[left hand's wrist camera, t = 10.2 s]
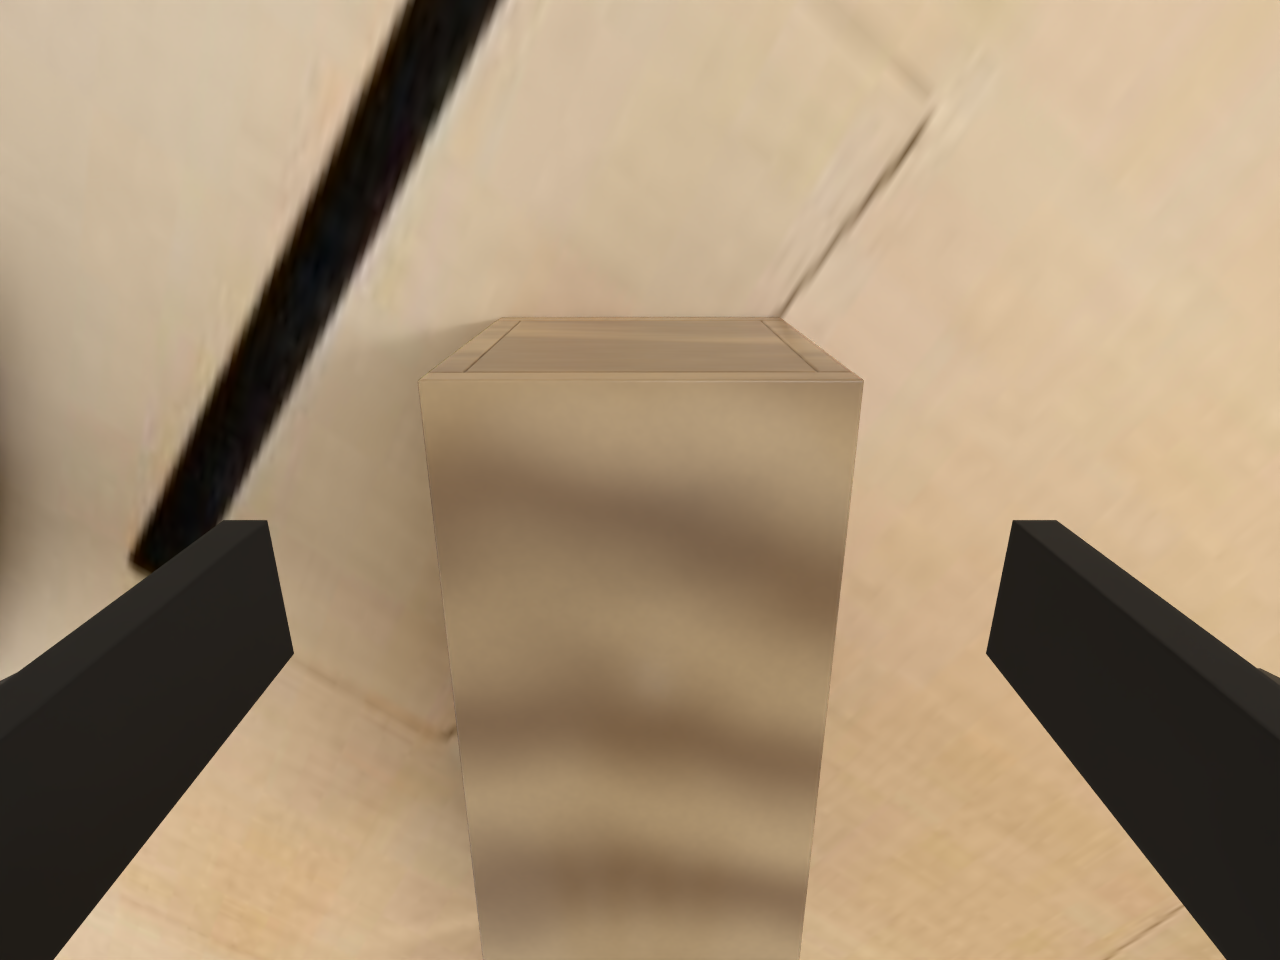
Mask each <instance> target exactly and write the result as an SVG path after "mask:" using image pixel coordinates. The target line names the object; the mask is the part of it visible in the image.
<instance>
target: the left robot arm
mask: <svg viewBox="0 0 1280 960" xmlns="http://www.w3.org/2000/svg"><path fill="white" fill-rule="evenodd" d="M293 654H294V651H293V646H292V641H291V636H290V631H289V627H288V622H287V617H286V612H285V607H284V602H283V597H282V592H281V587H280V582H279V577H278V572H277V567H276V562H275V557H274V552H273V547H272V542H271V537H270V532H269V527H268V522H267V520H223V521H222V522H221V523H219V524H218V525H217V526H215V527H214V528H213V529H211V530H210V531H208V532H207V533H206V534H204V535H203V536H202V537H200V538H199V539H198V540H196V541H195V542H194V543H192V544H191V545H190V546H188V547H187V548H185V549H184V550H183V551H181V552H180V553H179V554H177V555H176V556H175V557H173V558H172V559H171V560H169V561H168V562H166V563H165V564H164V565H162V566H161V567H160V568H158V569H157V570H156V571H154V572H153V573H152V574H150V575H149V576H148V577H146V578H145V579H143V580H142V581H141V582H139V583H138V584H137V585H135V586H134V587H133V588H131V589H130V590H129V591H127V592H126V593H125V594H123V595H122V596H120V597H119V598H118V599H116V600H115V601H114V602H112V603H111V604H110V605H108V606H107V607H106V608H104V609H103V610H101V611H100V612H99V613H97V614H96V615H95V616H93V617H92V618H91V619H89V620H88V621H87V622H85V623H84V624H83V625H81V626H80V627H78V628H77V629H76V630H74V631H73V632H72V633H70V634H69V635H68V636H66V637H65V638H64V639H62V640H61V641H59V642H58V643H57V644H55V645H54V646H53V647H51V648H50V649H49V650H47V651H46V652H45V653H43V654H42V655H41V656H39V657H38V658H36V659H35V660H34V661H32V662H31V663H30V664H28V665H27V666H26V667H24V668H23V669H22V670H20V671H19V672H17V673H15V674H13V675H11V676H9V677H7V678H5V679H3V680H1V681H0V960H54V958H55V957H56V956H57V955H58V953H59V952H60V951H61V949H62V948H63V947H64V946H65V944H66V943H67V942H68V941H69V939H70V938H71V937H72V935H73V934H74V933H75V932H76V930H77V929H78V928H79V927H80V925H81V924H82V923H83V921H84V920H85V919H86V918H87V916H88V915H89V914H90V913H91V911H92V910H93V909H94V907H95V906H96V905H97V904H98V902H99V901H100V900H101V899H102V897H103V896H104V895H105V893H106V892H107V891H108V890H109V888H110V887H111V886H112V885H113V883H114V882H115V881H116V879H117V878H118V877H119V876H120V874H121V873H122V872H123V871H124V869H125V868H126V867H127V865H128V864H129V863H130V862H131V860H132V859H133V858H134V857H135V855H136V854H137V853H138V851H139V850H140V849H141V848H142V846H143V845H144V844H145V843H146V841H147V840H148V839H149V837H150V836H151V835H152V834H153V832H154V831H155V830H156V828H157V827H158V826H159V825H160V823H161V822H162V821H163V820H164V818H165V817H166V816H167V814H168V813H169V812H170V811H171V809H172V808H173V807H174V806H175V804H176V803H177V802H178V800H179V799H180V798H181V797H182V795H183V794H184V793H185V792H186V790H187V789H188V788H189V786H190V785H191V784H192V783H193V781H194V780H195V779H196V778H197V776H198V775H199V774H200V772H201V771H202V770H203V769H204V767H205V766H206V765H207V764H208V762H209V761H210V760H211V758H212V757H213V756H214V755H215V753H216V752H217V751H218V750H219V748H220V747H221V746H222V744H223V743H224V742H225V741H226V739H227V738H228V737H229V736H230V734H231V733H232V732H233V730H234V729H235V728H236V727H237V725H238V724H239V723H240V722H241V720H242V719H243V718H244V716H245V715H246V714H247V713H248V711H249V710H250V709H251V708H252V706H253V705H254V704H255V702H256V701H257V700H258V699H259V697H260V696H261V695H262V694H263V692H264V691H265V690H266V688H267V687H268V686H269V685H270V683H271V682H272V681H273V680H274V678H275V677H276V676H277V674H278V673H279V672H280V671H281V669H282V668H283V667H284V666H285V664H286V663H287V662H288V660H289V659H290V658H291V657H292V655H293ZM986 654H987V655H988V657H989V658H990V659H991V660H992V662H993V663H994V664H995V666H996V667H997V668H998V669H999V671H1000V672H1001V673H1002V674H1003V676H1004V677H1005V678H1006V680H1007V681H1008V682H1009V683H1010V685H1011V686H1012V687H1013V688H1014V690H1015V691H1016V692H1017V694H1018V695H1019V696H1020V697H1021V699H1022V700H1023V701H1024V702H1025V704H1026V705H1027V706H1028V708H1029V709H1030V710H1031V711H1032V713H1033V714H1034V715H1035V716H1036V718H1037V719H1038V720H1039V722H1040V723H1041V724H1042V725H1043V727H1044V728H1045V729H1046V730H1047V732H1048V733H1049V734H1050V736H1051V737H1052V738H1053V739H1054V741H1055V742H1056V743H1057V744H1058V746H1059V747H1060V748H1061V750H1062V751H1063V752H1064V753H1065V755H1066V756H1067V757H1068V758H1069V760H1070V761H1071V762H1072V764H1073V765H1074V766H1075V767H1076V769H1077V770H1078V771H1079V772H1080V774H1081V775H1082V776H1083V778H1084V779H1085V780H1086V781H1087V783H1088V784H1089V785H1090V786H1091V788H1092V789H1093V790H1094V792H1095V793H1096V794H1097V795H1098V797H1099V798H1100V799H1101V800H1102V802H1103V803H1104V804H1105V806H1106V807H1107V808H1108V809H1109V811H1110V812H1111V813H1112V814H1113V816H1114V817H1115V818H1116V820H1117V821H1118V822H1119V823H1120V825H1121V826H1122V827H1123V829H1124V830H1125V831H1126V832H1127V834H1128V835H1129V836H1130V837H1131V839H1132V840H1133V841H1134V843H1135V844H1136V845H1137V846H1138V848H1139V849H1140V850H1141V851H1142V853H1143V854H1144V855H1145V857H1146V858H1147V859H1148V860H1149V862H1150V863H1151V864H1152V865H1153V867H1154V868H1155V869H1156V871H1157V872H1158V873H1159V874H1160V876H1161V877H1162V878H1163V879H1164V881H1165V882H1166V883H1167V885H1168V886H1169V887H1170V888H1171V890H1172V891H1173V892H1174V893H1175V895H1176V896H1177V897H1178V899H1179V900H1180V901H1181V902H1182V904H1183V905H1184V906H1185V907H1186V909H1187V910H1188V911H1189V913H1190V914H1191V915H1192V916H1193V918H1194V919H1195V920H1196V921H1197V923H1198V924H1199V925H1200V927H1201V928H1202V929H1203V930H1204V932H1205V933H1206V934H1207V935H1208V937H1209V938H1210V939H1211V941H1212V942H1213V943H1214V944H1215V946H1216V947H1217V948H1218V949H1219V951H1220V952H1221V953H1222V955H1223V956H1224V957H1225V958H1226V960H1280V678H1279V677H1277V676H1275V675H1273V674H1271V673H1269V672H1267V671H1265V670H1263V669H1261V668H1256V667H1254V666H1253V665H1252V664H1250V663H1249V662H1248V661H1246V660H1245V659H1244V658H1242V657H1241V656H1239V655H1238V654H1237V653H1235V652H1234V651H1233V650H1231V649H1230V648H1229V647H1227V646H1226V645H1225V644H1223V643H1222V642H1221V641H1219V640H1218V639H1216V638H1215V637H1214V636H1212V635H1211V634H1210V633H1208V632H1207V631H1206V630H1204V629H1203V628H1202V627H1200V626H1199V625H1197V624H1196V623H1195V622H1193V621H1192V620H1191V619H1189V618H1188V617H1187V616H1185V615H1184V614H1183V613H1181V612H1180V611H1179V610H1177V609H1176V608H1174V607H1173V606H1172V605H1170V604H1169V603H1168V602H1166V601H1165V600H1164V599H1162V598H1161V597H1160V596H1158V595H1157V594H1155V593H1154V592H1153V591H1151V590H1150V589H1149V588H1147V587H1146V586H1145V585H1143V584H1142V583H1141V582H1139V581H1138V580H1137V579H1135V578H1134V577H1132V576H1131V575H1130V574H1128V573H1127V572H1126V571H1124V570H1123V569H1122V568H1120V567H1119V566H1118V565H1116V564H1115V563H1114V562H1112V561H1111V560H1109V559H1108V558H1107V557H1105V556H1104V555H1103V554H1101V553H1100V552H1099V551H1097V550H1096V549H1095V548H1093V547H1092V546H1090V545H1089V544H1088V543H1086V542H1085V541H1084V540H1082V539H1081V538H1080V537H1078V536H1077V535H1076V534H1074V533H1073V532H1072V531H1070V530H1069V529H1067V528H1066V527H1065V526H1063V525H1062V524H1061V523H1059V522H1058V521H1057V520H1013V522H1012V527H1011V532H1010V537H1009V542H1008V547H1007V552H1006V557H1005V562H1004V567H1003V572H1002V577H1001V582H1000V587H999V592H998V597H997V602H996V607H995V612H994V617H993V622H992V627H991V631H990V636H989V641H988V646H987V651H986Z"/></svg>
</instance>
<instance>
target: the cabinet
mask: <svg viewBox="0 0 1280 960" xmlns="http://www.w3.org/2000/svg"><path fill="white" fill-rule="evenodd" d="M863 383H864V381H863V379H861V378H860V377H859V376H857V375H856V374H855V373H853V372H852V371H850V370H849V369H848V368H846V367H845V366H844V365H842V364H841V363H840V362H838V361H837V360H836V359H834V358H833V357H832V356H830V355H829V354H828V353H826V352H825V351H824V350H823V349H821V348H820V347H819V346H817V345H816V344H815V343H813V342H812V341H811V340H809V339H808V338H807V337H805V336H804V335H803V334H801V333H800V332H799V331H797V330H796V329H795V328H793V327H792V326H791V325H789V324H788V323H787V322H786V321H784V320H783V319H781V318H779V317H589V318H500V319H499V320H498V321H496V322H494V323H493V324H492V325H490V326H489V327H488V328H486V329H485V330H484V331H482V332H481V333H480V334H478V335H477V336H476V337H474V338H473V339H472V340H470V341H469V342H468V343H466V344H465V345H464V346H462V347H461V348H460V349H459V350H457V351H456V352H455V353H453V354H452V355H451V356H449V357H448V358H447V359H445V360H444V361H443V362H441V363H440V364H439V365H437V366H436V367H435V368H433V369H432V370H431V371H429V372H428V373H427V374H426V375H425V376H423V377H422V378H421V379H419V380H418V388H419V397H420V405H421V414H422V423H423V432H424V441H425V450H426V459H427V467H428V476H429V485H430V494H431V503H432V512H433V521H434V529H435V538H436V547H437V556H438V565H439V574H440V583H441V591H442V600H443V609H444V618H445V627H446V636H447V645H448V653H449V662H450V671H451V680H452V689H453V698H454V707H455V715H456V724H457V733H458V742H459V751H460V760H461V769H462V777H463V786H464V795H465V804H466V813H467V822H468V831H469V839H470V848H471V857H472V866H473V875H474V884H475V893H476V901H477V910H478V919H479V928H480V937H481V946H482V955H483V960H799V957H800V948H801V939H802V930H803V921H804V912H805V903H806V894H807V885H808V876H809V867H810V858H811V849H812V840H813V831H814V822H815V813H816V804H817V795H818V786H819V777H820V769H821V760H822V751H823V742H824V733H825V724H826V715H827V706H828V697H829V688H830V679H831V670H832V661H833V652H834V643H835V634H836V625H837V616H838V607H839V598H840V589H841V580H842V572H843V563H844V554H845V545H846V536H847V527H848V518H849V509H850V500H851V491H852V482H853V473H854V464H855V455H856V446H857V437H858V428H859V419H860V410H861V401H862V392H863Z"/></svg>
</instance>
